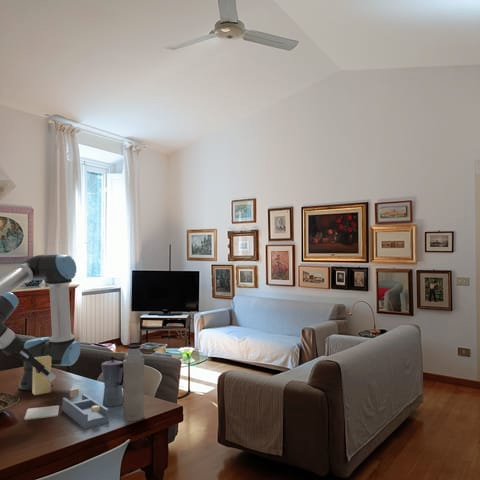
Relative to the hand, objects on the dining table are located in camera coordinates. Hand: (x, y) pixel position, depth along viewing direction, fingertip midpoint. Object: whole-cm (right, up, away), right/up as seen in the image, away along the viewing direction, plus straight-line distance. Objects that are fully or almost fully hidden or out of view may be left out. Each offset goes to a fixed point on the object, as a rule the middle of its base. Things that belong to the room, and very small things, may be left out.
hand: (51, 377), depth 177 cm
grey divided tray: (+16, -13, -6) cm, 22 cm away
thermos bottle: (+35, -13, -8) cm, 39 cm away
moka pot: (+23, -14, +8) cm, 28 cm away
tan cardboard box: (-3, -5, -3) cm, 6 cm away
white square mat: (-3, -13, -2) cm, 14 cm away
